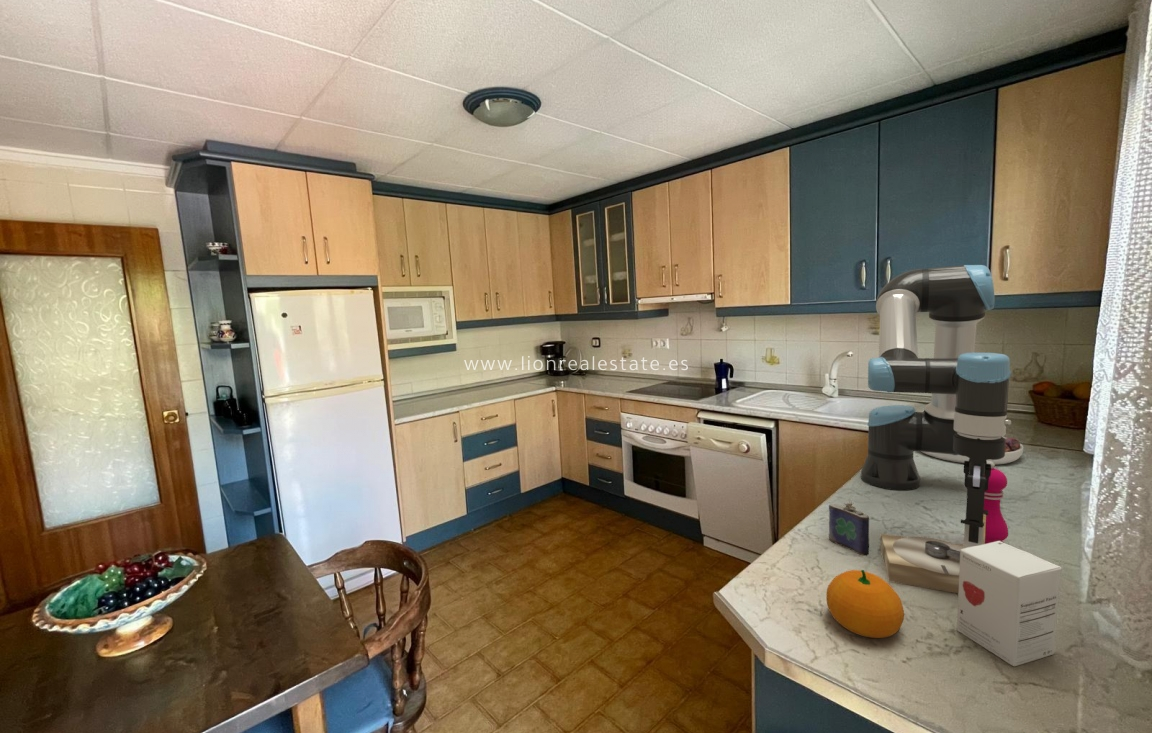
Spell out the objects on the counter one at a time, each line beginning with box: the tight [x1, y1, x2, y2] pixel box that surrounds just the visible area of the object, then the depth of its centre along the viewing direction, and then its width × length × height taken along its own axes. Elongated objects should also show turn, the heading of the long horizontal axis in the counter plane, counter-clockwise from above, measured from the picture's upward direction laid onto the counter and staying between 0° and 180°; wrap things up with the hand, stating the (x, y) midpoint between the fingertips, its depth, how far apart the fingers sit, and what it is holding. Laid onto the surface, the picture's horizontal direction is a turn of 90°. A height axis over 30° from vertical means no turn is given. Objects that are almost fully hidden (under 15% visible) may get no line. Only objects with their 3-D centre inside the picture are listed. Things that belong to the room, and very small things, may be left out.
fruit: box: [826, 569, 905, 639], centre depth 82 cm, size 12×12×10 cm
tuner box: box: [879, 533, 964, 594], centre depth 96 cm, size 15×18×4 cm
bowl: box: [922, 436, 1024, 466], centre depth 164 cm, size 30×30×8 cm
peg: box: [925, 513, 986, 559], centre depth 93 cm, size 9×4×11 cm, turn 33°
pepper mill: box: [984, 461, 1009, 544], centre depth 103 cm, size 7×7×20 cm
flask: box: [828, 501, 870, 557], centre depth 108 cm, size 9×3×11 cm, turn 26°
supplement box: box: [956, 541, 1063, 667], centre depth 76 cm, size 9×9×15 cm
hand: (972, 550), depth 91 cm, fingers open, 4 cm apart
